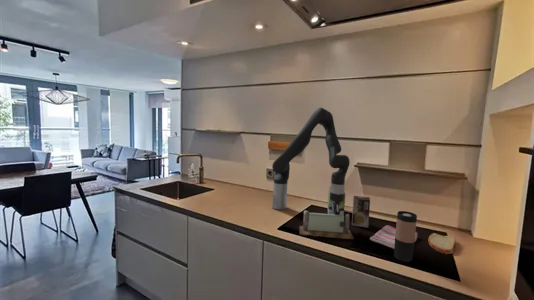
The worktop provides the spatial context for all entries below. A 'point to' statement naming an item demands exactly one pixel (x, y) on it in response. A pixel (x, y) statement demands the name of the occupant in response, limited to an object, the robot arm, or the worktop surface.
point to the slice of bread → (442, 243)
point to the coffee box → (361, 211)
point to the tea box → (332, 202)
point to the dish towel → (386, 236)
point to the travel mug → (405, 236)
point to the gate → (325, 222)
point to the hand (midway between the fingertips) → (335, 222)
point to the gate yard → (345, 234)
